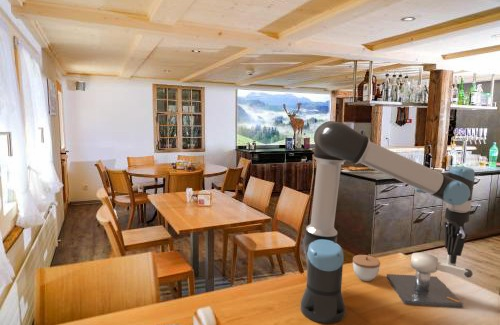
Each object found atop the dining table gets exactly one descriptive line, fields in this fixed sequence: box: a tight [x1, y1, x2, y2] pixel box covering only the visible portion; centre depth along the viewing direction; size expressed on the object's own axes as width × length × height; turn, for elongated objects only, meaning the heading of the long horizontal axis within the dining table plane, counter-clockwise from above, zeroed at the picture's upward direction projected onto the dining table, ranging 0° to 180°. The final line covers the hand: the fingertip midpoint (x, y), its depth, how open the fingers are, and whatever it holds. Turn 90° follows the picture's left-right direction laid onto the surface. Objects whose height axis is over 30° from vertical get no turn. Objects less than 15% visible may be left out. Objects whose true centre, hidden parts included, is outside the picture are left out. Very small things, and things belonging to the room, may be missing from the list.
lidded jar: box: [352, 254, 381, 282], centre depth 140 cm, size 11×11×9 cm
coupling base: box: [386, 270, 464, 308], centre depth 129 cm, size 20×20×10 cm
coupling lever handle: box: [410, 252, 473, 279], centre depth 125 cm, size 20×9×4 cm, turn 54°
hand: (450, 270), depth 125 cm, fingers closed
